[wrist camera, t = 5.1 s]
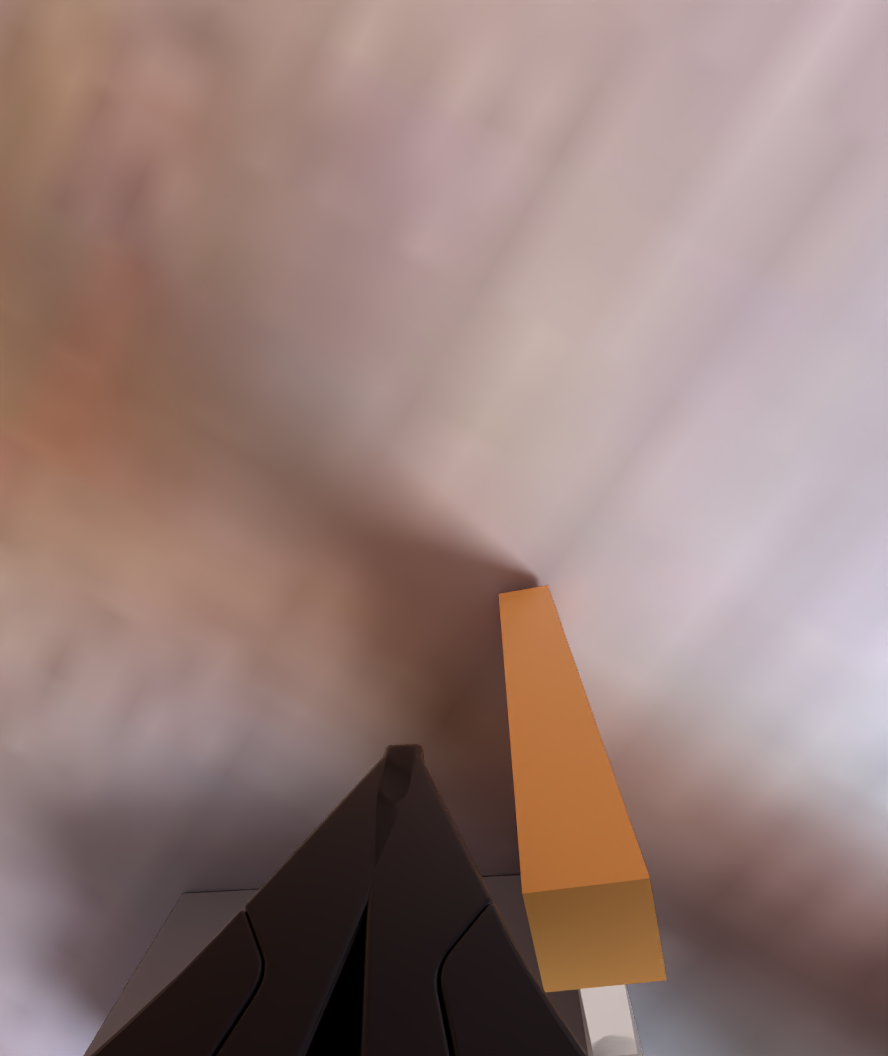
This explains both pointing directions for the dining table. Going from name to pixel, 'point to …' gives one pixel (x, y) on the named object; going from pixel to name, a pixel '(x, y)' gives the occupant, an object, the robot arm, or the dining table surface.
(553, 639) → the side door
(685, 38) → the dining table surface
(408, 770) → the robot arm
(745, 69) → the dining table surface
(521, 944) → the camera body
